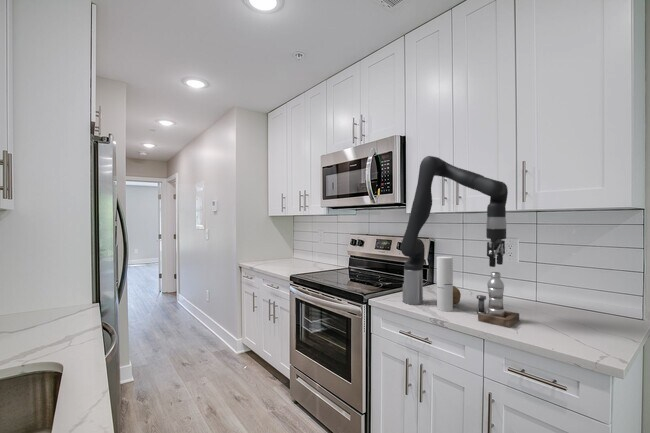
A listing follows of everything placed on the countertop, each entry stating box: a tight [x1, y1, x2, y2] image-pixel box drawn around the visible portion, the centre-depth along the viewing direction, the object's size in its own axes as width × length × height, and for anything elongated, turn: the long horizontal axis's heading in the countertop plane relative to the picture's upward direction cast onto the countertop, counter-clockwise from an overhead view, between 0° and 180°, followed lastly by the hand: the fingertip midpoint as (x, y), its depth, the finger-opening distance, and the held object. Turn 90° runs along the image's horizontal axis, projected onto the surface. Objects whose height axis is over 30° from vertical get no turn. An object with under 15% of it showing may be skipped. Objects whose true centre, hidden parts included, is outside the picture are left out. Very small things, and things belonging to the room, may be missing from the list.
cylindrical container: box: [436, 255, 454, 312], centre depth 156 cm, size 7×7×25 cm
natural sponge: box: [453, 285, 462, 307], centre depth 163 cm, size 9×9×10 cm
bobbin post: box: [476, 294, 487, 315], centre depth 149 cm, size 4×4×8 cm
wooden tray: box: [477, 310, 520, 329], centre depth 139 cm, size 12×13×3 cm
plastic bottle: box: [486, 271, 506, 318], centre depth 140 cm, size 6×7×20 cm
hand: (496, 265), depth 139 cm, fingers open, 8 cm apart
